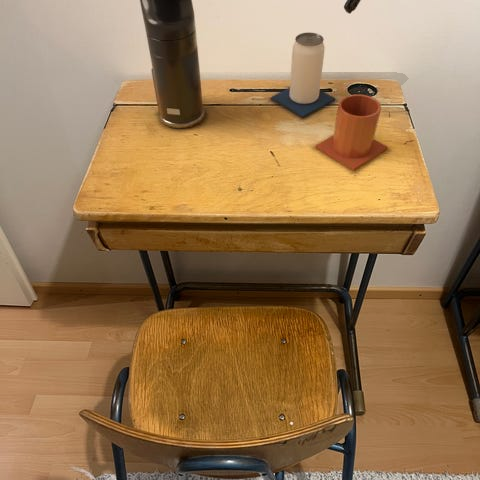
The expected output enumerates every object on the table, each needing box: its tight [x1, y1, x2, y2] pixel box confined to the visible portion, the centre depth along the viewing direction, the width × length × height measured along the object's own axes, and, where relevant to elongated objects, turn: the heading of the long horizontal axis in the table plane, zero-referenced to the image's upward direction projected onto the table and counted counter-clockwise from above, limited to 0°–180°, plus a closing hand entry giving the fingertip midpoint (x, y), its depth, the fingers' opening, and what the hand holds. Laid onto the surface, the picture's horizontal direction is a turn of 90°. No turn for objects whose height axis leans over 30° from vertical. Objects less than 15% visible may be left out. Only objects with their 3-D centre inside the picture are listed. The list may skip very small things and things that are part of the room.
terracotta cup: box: [332, 93, 382, 158], centre depth 88 cm, size 8×8×9 cm
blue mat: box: [270, 87, 336, 119], centre depth 102 cm, size 10×10×1 cm
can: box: [289, 31, 325, 104], centre depth 97 cm, size 6×6×12 cm
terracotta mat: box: [315, 135, 389, 172], centre depth 92 cm, size 10×10×1 cm
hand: (330, 3), depth 90 cm, fingers open, 8 cm apart
